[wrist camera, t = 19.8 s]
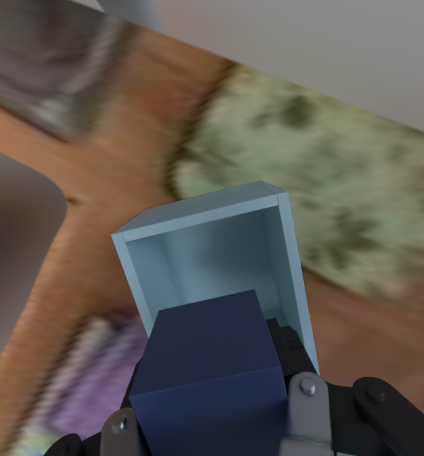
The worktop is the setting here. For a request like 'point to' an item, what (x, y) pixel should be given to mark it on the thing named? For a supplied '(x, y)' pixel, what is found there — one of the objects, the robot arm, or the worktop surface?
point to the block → (211, 381)
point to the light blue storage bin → (218, 255)
